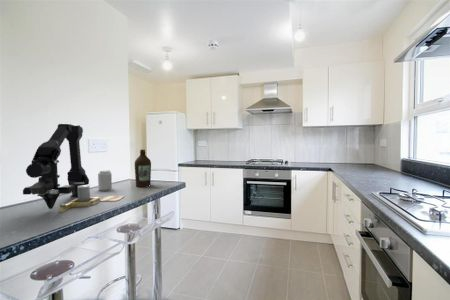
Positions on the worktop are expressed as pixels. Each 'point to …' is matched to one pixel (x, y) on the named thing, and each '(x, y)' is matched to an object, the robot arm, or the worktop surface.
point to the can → (104, 180)
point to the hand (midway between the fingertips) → (50, 208)
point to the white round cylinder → (84, 193)
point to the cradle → (92, 200)
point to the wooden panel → (112, 198)
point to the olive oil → (143, 170)
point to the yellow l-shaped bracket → (73, 205)
